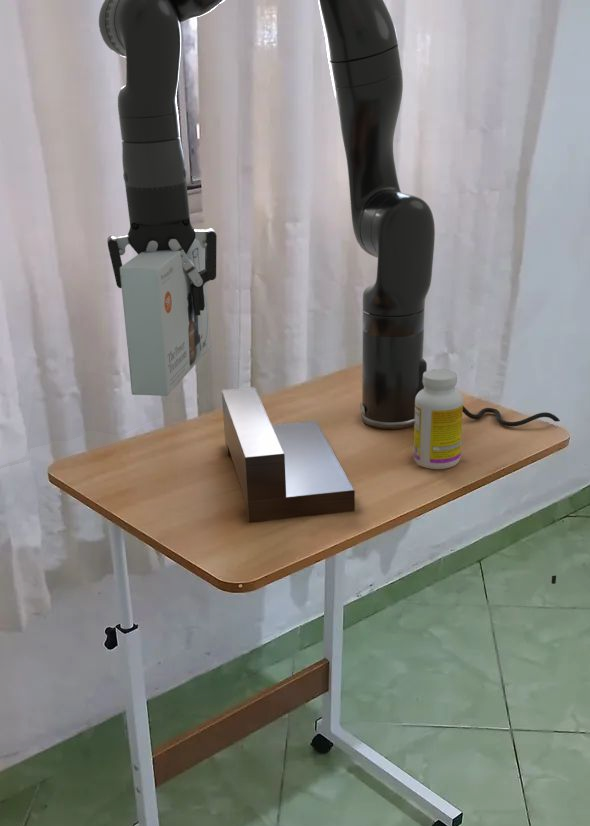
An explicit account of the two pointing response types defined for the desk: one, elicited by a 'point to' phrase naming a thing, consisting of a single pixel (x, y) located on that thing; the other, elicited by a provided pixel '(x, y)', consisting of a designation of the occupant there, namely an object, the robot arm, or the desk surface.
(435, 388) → the supplement bottle
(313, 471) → the metal step block
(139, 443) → the desk surface
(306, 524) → the desk surface
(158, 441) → the desk surface
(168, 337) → the skincare box
